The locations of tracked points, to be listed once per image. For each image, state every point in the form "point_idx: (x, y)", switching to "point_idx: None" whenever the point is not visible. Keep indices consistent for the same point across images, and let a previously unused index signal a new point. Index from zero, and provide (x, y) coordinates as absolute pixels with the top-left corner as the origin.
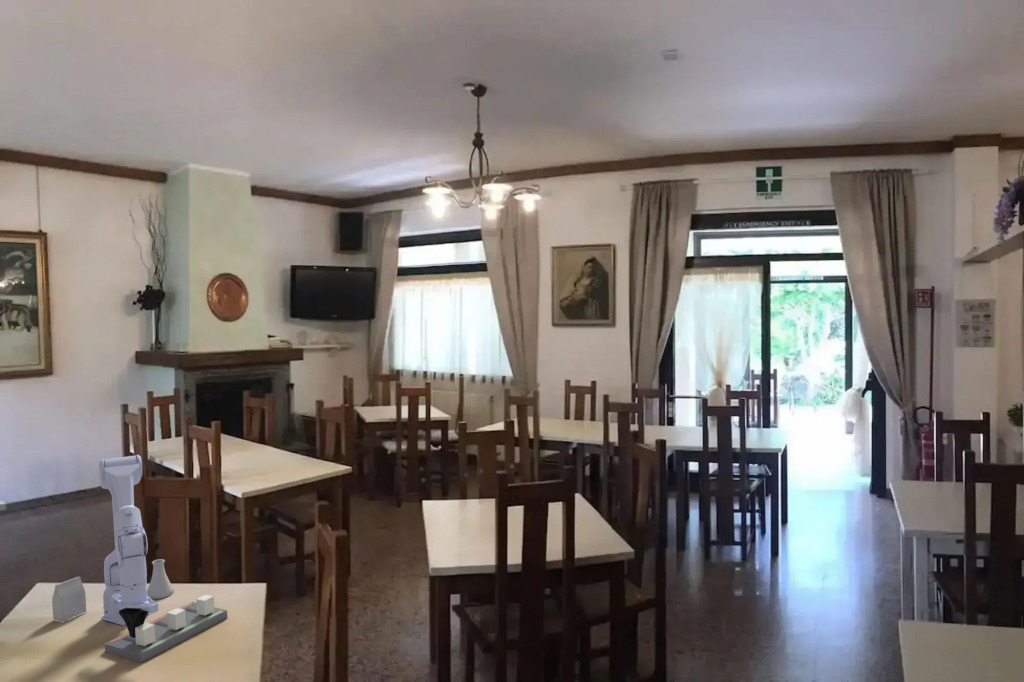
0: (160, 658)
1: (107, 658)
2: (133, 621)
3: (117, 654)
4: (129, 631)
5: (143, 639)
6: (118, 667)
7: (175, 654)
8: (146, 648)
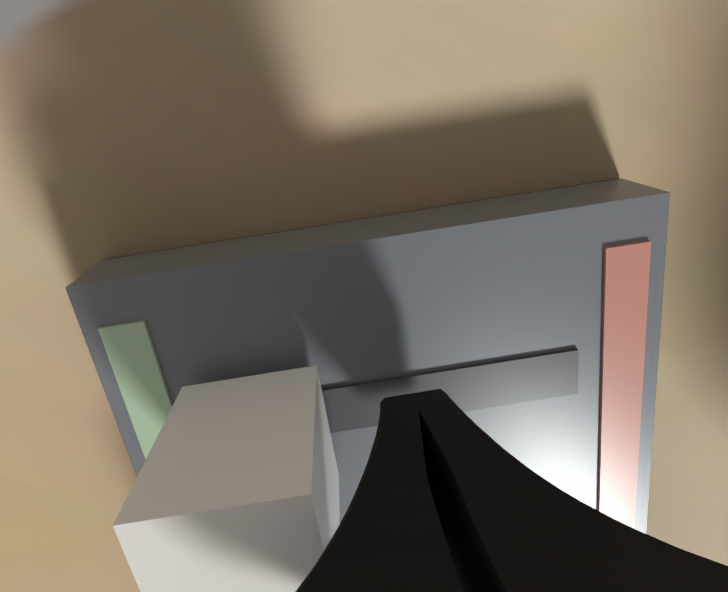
0: (57, 390)
1: (471, 121)
2: (311, 572)
3: (440, 209)
4: (448, 420)
5: (172, 428)
6: (187, 84)
7: (35, 483)
8: (154, 381)
